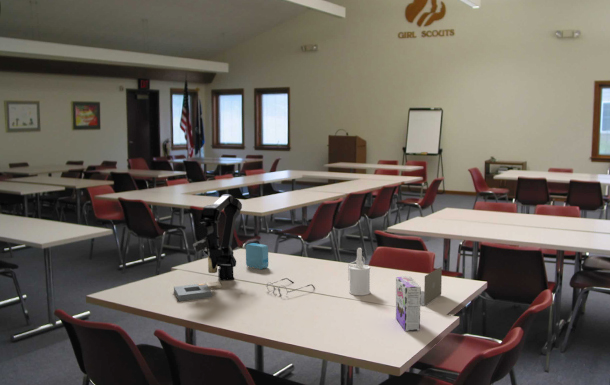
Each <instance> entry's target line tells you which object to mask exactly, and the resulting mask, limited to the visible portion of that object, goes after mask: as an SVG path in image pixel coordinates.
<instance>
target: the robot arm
mask: <svg viewBox="0 0 610 385" xmlns="http://www.w3.org/2000/svg"><path fill="white" fill-rule="evenodd" d="M242 208H243V204H242V202H241V201H240V200H239V199H238V198H236V197H235V196H233V195H232V194H222V195H221V196H220V197H219V198H218V199H217V200H216V201H215V202H213V203H212V204H209V205H208V204H207V205H205V206H203V208H202V210H201V213H200V217H199V221H198V222H199V225H198V226H197V227H196V228H195V234H196V236H197V237H198V238H200V239H201V240H199V241H196V242H194V243H193V244H192V247H193V248H194V252H197V253H198V252H200V251H201V250H203V252H204V254H206V255H207V257H208V256H209V257H210V259H211V264H212V268H213V269H215V267H216V265H217V267H219V268H217V275H218V276H217V277H218V278H219V279H220V280H221V281H229V280H235V277H234V268H235V267H237V259H236V258H235V256H234V251H233V249H232V244H233V238H234V232H235V226H236V220H237V218H238V217H239V215H240V214H241V210H242ZM222 211H223V213H224V215H225V221H224V226H223V232H222V238H221V239H222V240H221V244H220V245H219V239H220V236H219V222H220V220H219V219H220V217H221V214H222V213H221V212H222Z"/></svg>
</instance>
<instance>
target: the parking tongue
mask: <svg viewBox="0 0 610 385" xmlns="http://www.w3.org/2000/svg"><path fill="white" fill-rule="evenodd" d="M205 284H206V285H207V286H208V288H209V289H210V290H215V289H216V290H217V289H222V284H221V282H220V281H211V282H205Z"/></svg>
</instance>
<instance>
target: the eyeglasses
mask: <svg viewBox="0 0 610 385" xmlns="http://www.w3.org/2000/svg"><path fill="white" fill-rule="evenodd" d="M284 280H288V281H289V282H291V283H292V284H295V282H294V281H293V280H291V279H289V278H287V277H286V278H282V279H280V280H277V281H274V282H269V281H268V282H267V283H266V285H265V287H266V288H267V291H268V292H271V291H270V289H269V286H272V288H273V291H272V294H274V293H275V292H276V291H278V294H279V295H280V296H283V294H282V293H281V288H280V287H281V286H275V285H274V284H275V283H278V282H281V281H284ZM310 286H312V288H313V289H315V285H313V284H307V285H305V286H301V287H299V288H295V289H293V290H288V289H287V287H286V286H285V285H283V287H284V288H285V290H286V294H288V293H292V292H295V291H297V290H300V289H303V288H307V287H310Z"/></svg>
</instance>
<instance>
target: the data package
mask: <svg viewBox="0 0 610 385" xmlns="http://www.w3.org/2000/svg"><path fill="white" fill-rule="evenodd" d="M245 265H246V267H248V266H249V268H252V267H254V268H253V269H257V268H259V269H258V270H263V268H264V269H267V268H268V267H269V247H268V245H267V244H261V243H255V242H252V243H247V244H246V245H245Z"/></svg>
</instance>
